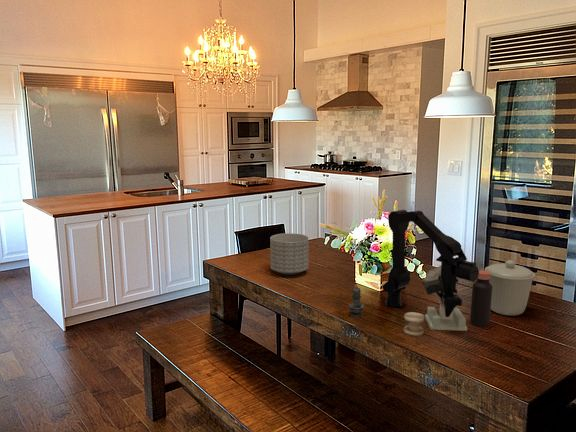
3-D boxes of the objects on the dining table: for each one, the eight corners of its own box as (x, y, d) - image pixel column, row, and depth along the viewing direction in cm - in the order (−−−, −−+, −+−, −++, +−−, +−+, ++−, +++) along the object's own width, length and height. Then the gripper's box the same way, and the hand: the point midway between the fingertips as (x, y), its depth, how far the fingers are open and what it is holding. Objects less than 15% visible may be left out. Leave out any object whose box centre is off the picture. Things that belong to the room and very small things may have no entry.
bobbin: (402, 327, 176) (403, 311, 174) (421, 327, 175) (422, 312, 174) (405, 335, 169) (405, 319, 168) (425, 336, 168) (426, 320, 167)
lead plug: (439, 314, 180) (440, 301, 179) (450, 315, 180) (451, 301, 179) (441, 319, 176) (442, 305, 175) (452, 319, 176) (453, 305, 175)
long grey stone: (461, 272, 245) (442, 269, 251) (462, 262, 244) (442, 259, 250) (439, 287, 217) (417, 284, 223) (439, 276, 216) (418, 273, 222)
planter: (308, 278, 230) (308, 242, 226) (269, 278, 230) (269, 242, 226) (307, 267, 248) (308, 233, 245) (271, 266, 249) (271, 233, 245)
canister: (532, 307, 194) (537, 258, 190) (529, 323, 178) (534, 270, 174) (485, 299, 203) (489, 251, 199) (478, 314, 188) (482, 262, 183)
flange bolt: (353, 310, 191) (354, 281, 189) (366, 313, 188) (367, 285, 185) (345, 314, 187) (346, 285, 185) (358, 318, 183) (359, 289, 181)
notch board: (424, 317, 184) (425, 306, 184) (459, 318, 183) (460, 307, 182) (430, 329, 174) (431, 318, 173) (467, 330, 173) (468, 319, 172)
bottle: (477, 327, 175) (482, 275, 171) (466, 320, 182) (469, 270, 178) (493, 325, 177) (497, 274, 173) (481, 318, 183) (485, 268, 179)
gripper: (421, 266, 185) (419, 304, 188) (431, 282, 166) (428, 324, 169) (451, 267, 184) (448, 305, 187) (464, 283, 165) (460, 325, 168)
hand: (445, 314), depth 178 cm, fingers closed on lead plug, 4 cm apart
